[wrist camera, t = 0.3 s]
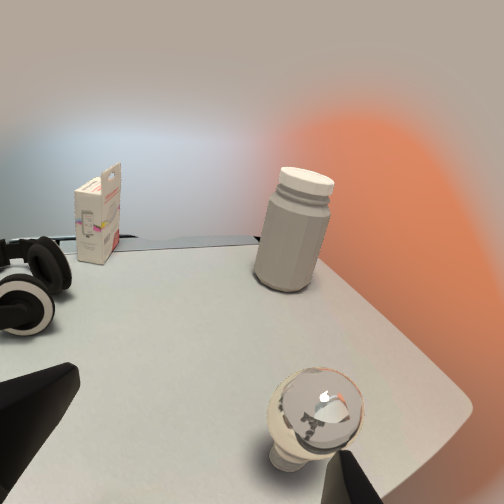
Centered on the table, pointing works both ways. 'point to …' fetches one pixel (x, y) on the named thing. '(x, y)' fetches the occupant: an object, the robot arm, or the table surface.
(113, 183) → the ink cartridge box
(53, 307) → the headphones
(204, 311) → the table surface
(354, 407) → the light bulb
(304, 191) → the jar
